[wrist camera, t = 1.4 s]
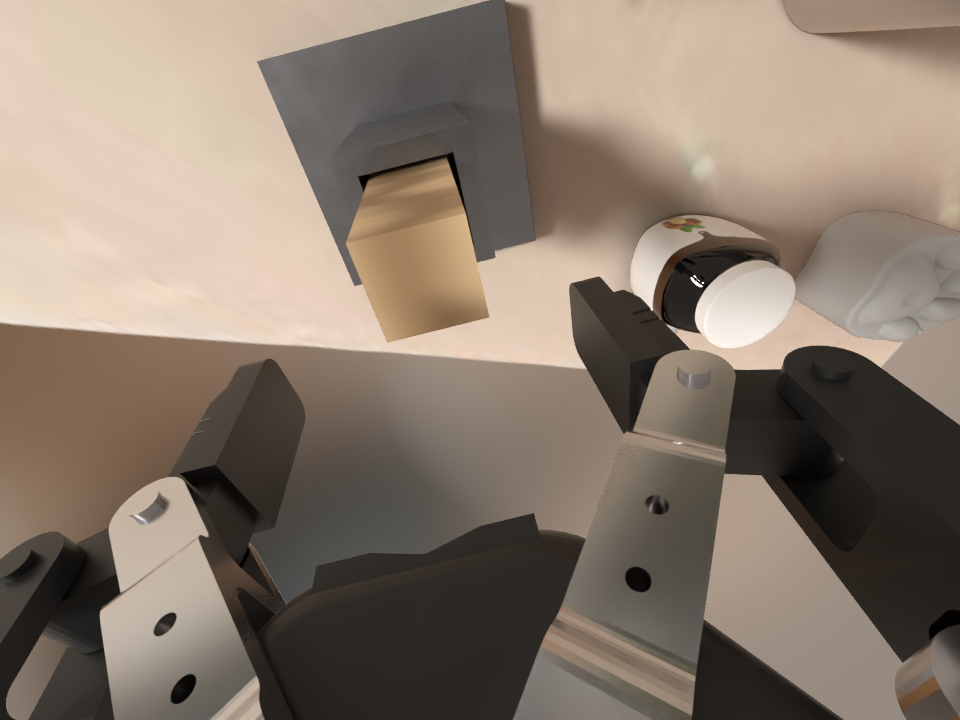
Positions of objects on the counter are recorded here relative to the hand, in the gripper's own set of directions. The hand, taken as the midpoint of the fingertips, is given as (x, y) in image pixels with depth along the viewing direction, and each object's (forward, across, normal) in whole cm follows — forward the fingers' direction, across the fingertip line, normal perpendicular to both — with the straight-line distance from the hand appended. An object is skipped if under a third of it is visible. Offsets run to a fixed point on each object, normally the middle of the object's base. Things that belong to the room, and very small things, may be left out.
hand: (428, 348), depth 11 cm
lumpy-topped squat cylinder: (+26, -42, +20) cm, 54 cm away
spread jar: (+26, -20, +15) cm, 36 cm away
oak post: (+24, 0, 0) cm, 24 cm away
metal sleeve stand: (+26, 0, 0) cm, 26 cm away
